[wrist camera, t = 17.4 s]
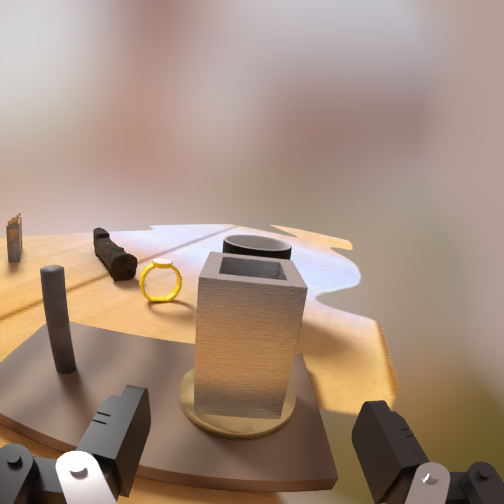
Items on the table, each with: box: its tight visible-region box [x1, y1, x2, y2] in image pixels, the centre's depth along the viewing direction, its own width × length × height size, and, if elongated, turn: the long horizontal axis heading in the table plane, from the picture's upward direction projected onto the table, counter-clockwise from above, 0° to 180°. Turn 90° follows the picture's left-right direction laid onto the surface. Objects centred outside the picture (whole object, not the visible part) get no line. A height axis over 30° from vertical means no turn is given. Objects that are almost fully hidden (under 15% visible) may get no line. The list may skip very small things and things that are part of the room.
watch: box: [139, 258, 182, 302], centre depth 42 cm, size 6×3×6 cm, turn 121°
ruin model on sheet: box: [6, 214, 22, 262], centre depth 51 cm, size 11×3×10 cm, turn 39°
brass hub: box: [179, 368, 296, 441], centre depth 21 cm, size 9×9×7 cm
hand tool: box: [94, 228, 137, 281], centre depth 56 cm, size 23×5×6 cm, turn 38°
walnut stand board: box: [0, 265, 338, 492], centre depth 21 cm, size 28×16×10 cm, turn 91°
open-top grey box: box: [194, 252, 308, 419], centre depth 21 cm, size 6×6×10 cm
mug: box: [223, 235, 292, 260], centre depth 41 cm, size 12×9×10 cm
